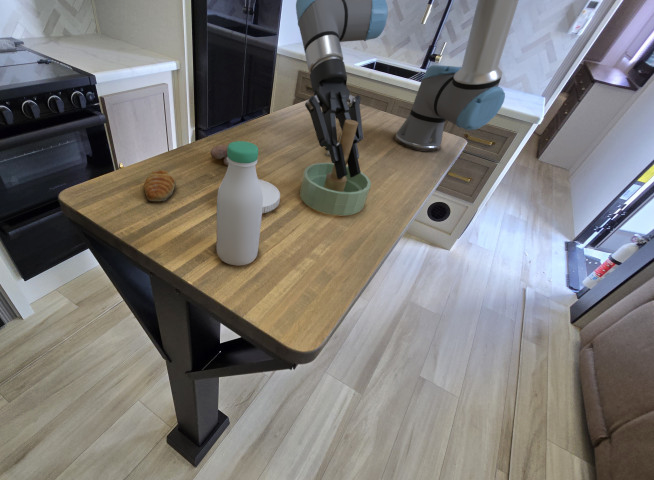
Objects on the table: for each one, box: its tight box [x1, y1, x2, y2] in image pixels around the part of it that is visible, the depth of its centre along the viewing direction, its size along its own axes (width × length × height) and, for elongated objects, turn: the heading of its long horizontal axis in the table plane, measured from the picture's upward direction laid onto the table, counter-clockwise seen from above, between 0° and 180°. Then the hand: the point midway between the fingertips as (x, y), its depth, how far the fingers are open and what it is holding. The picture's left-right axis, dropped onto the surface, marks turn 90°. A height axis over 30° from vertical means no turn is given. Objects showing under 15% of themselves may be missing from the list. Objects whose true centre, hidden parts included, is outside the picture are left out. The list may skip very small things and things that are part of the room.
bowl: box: [299, 162, 372, 217], centre depth 79 cm, size 16×16×6 cm
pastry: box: [143, 169, 177, 202], centre depth 74 cm, size 9×7×4 cm
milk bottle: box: [216, 140, 263, 266], centre depth 55 cm, size 8×8×20 cm
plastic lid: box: [217, 178, 281, 214], centre depth 76 cm, size 14×14×2 cm
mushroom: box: [210, 144, 229, 166], centre depth 89 cm, size 8×6×8 cm
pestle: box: [324, 120, 358, 192], centre depth 74 cm, size 5×5×16 cm
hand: (349, 175), depth 73 cm, fingers closed on pestle, 3 cm apart
